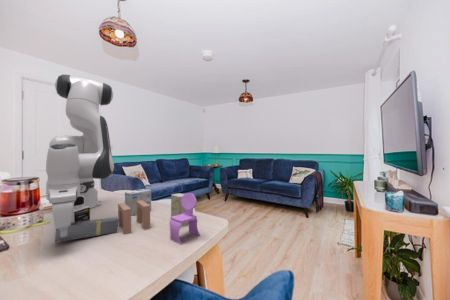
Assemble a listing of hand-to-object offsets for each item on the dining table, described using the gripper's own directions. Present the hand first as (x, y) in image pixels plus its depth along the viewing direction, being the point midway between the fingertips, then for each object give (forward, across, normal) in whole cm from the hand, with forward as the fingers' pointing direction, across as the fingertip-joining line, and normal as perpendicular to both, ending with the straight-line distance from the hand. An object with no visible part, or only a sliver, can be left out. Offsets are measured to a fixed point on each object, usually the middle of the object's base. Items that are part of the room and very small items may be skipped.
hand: (64, 233), depth 67 cm
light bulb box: (+3, -19, +28) cm, 34 cm away
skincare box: (+3, +9, +37) cm, 38 cm away
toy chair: (+3, +22, +33) cm, 40 cm away
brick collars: (+3, 0, +22) cm, 22 cm away
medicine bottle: (+3, -17, +3) cm, 18 cm away
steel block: (+2, 0, +7) cm, 7 cm away
